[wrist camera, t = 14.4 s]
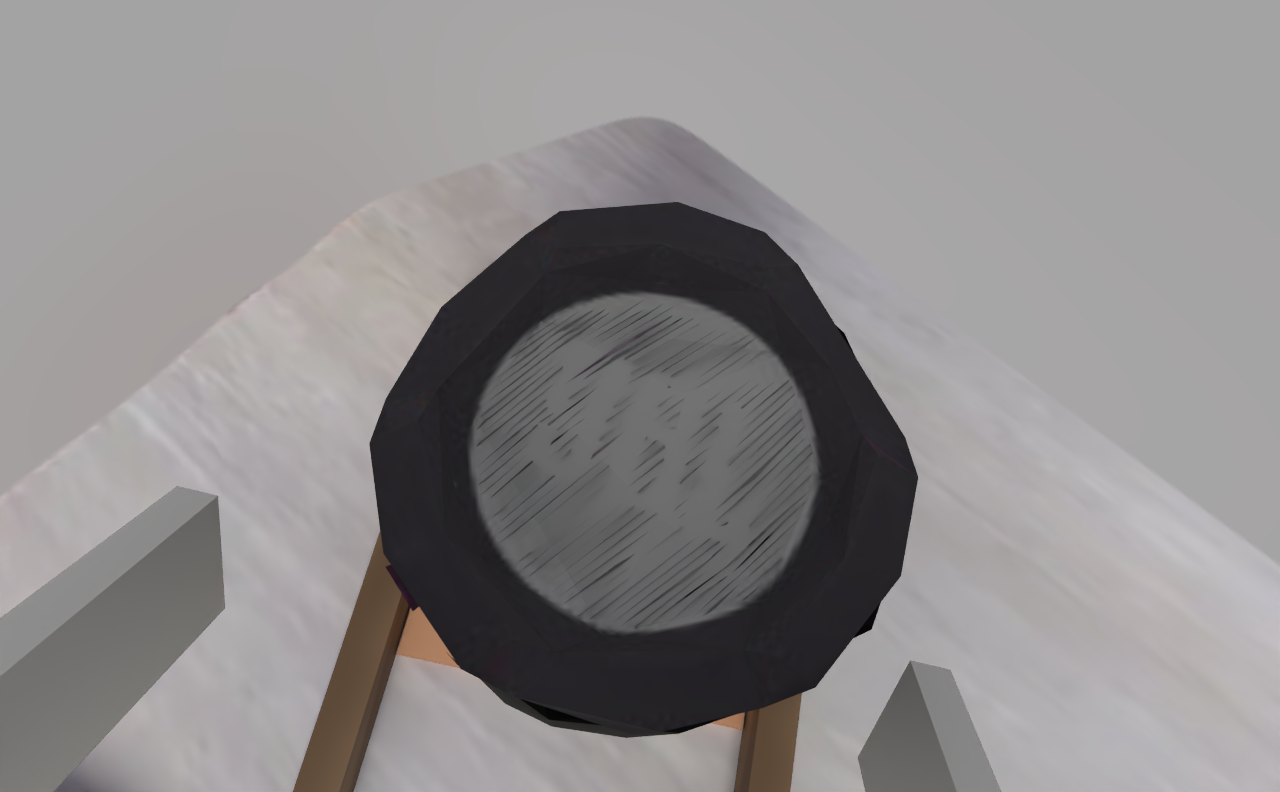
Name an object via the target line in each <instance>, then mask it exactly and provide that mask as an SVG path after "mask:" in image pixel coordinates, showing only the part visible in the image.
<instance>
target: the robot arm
mask: <svg viewBox="0 0 1280 792" xmlns="http://www.w3.org/2000/svg"><path fill="white" fill-rule="evenodd" d="M224 609H225V599H224V583H223V568H222V552H221V537H220V521H219V506H218V496H216V495H212V494H208V493H203V492H199V491H195V490H191V489H187V488H182V487H178V486H177V487H175V488H174V489H173V490H171V491H170V492H169V493H167V494H166V495H165V496H163V497H162V498H161V499H159V500H158V501H157V502H155V503H154V504H153V505H151V506H150V507H149V508H147V509H146V510H145V511H143V512H142V513H141V514H139V515H138V516H137V517H135V518H134V519H133V520H131V521H130V522H129V523H127V524H126V525H125V526H123V527H122V528H121V529H119V530H118V531H116V532H115V533H114V534H112V535H111V536H110V537H108V538H107V539H106V540H104V541H103V542H102V543H100V544H99V545H98V546H96V547H95V548H94V549H92V550H91V551H90V552H88V553H87V554H86V555H84V556H83V557H82V558H80V559H79V560H78V561H76V562H75V563H74V564H72V565H71V566H70V567H68V568H67V569H66V570H64V571H63V572H62V573H60V574H59V575H58V576H56V577H55V578H53V579H52V580H51V581H49V582H48V583H47V584H45V585H44V586H43V587H41V588H40V589H39V590H37V591H36V592H35V593H33V594H32V595H31V596H29V597H28V598H27V599H25V600H24V601H23V602H21V603H20V604H19V605H17V606H16V607H15V608H13V609H12V610H11V611H9V612H8V613H7V614H5V615H4V616H3V617H1V618H0V792H54V791H55V790H56V789H57V787H58V786H59V785H60V784H61V783H62V782H63V781H64V780H65V779H66V778H67V777H68V776H69V775H70V774H71V772H72V771H73V770H74V769H75V768H76V767H77V766H78V765H79V764H80V763H81V762H82V761H83V760H84V759H85V757H86V756H87V755H88V754H89V753H90V752H91V751H92V750H93V749H94V748H95V747H96V746H97V745H98V744H99V742H100V741H101V740H102V739H103V738H104V737H105V736H106V735H107V734H108V733H109V732H110V731H111V730H112V729H113V727H114V726H115V725H116V724H117V723H118V722H119V721H120V720H121V719H122V718H123V717H124V716H125V715H126V714H127V712H128V711H129V710H130V709H131V708H132V707H133V706H134V705H135V704H136V703H137V702H138V701H139V700H140V699H141V697H142V696H143V695H144V694H145V693H146V692H147V691H148V690H149V689H150V688H151V687H152V686H153V685H154V684H155V682H156V681H157V680H158V679H159V678H160V677H161V676H162V675H163V674H164V673H165V672H166V671H167V670H168V669H169V667H170V666H171V665H172V664H173V663H174V662H175V661H176V660H177V659H178V658H179V657H180V656H181V655H182V654H183V652H184V651H185V650H186V649H187V648H188V647H189V646H190V645H191V644H192V643H193V642H194V641H195V640H196V639H197V637H198V636H199V635H200V634H201V633H202V632H203V631H204V630H205V629H206V628H207V627H208V626H209V625H210V624H211V622H212V621H213V620H214V619H215V618H216V617H217V616H218V615H219V614H220V613H221V612H222V611H223V610H224ZM858 760H859V765H860V769H861V774H862V778H863V782H864V787H865V791H866V792H1001V790H1000V788H999V785H998V783H997V780H996V778H995V776H994V773H993V771H992V768H991V766H990V764H989V761H988V759H987V757H986V754H985V752H984V749H983V747H982V745H981V742H980V740H979V737H978V735H977V733H976V730H975V728H974V725H973V723H972V721H971V718H970V716H969V713H968V711H967V709H966V706H965V704H964V701H963V699H962V697H961V694H960V692H959V689H958V687H957V685H956V682H955V680H954V677H953V675H952V673H951V670H948V669H944V668H940V667H936V666H932V665H927V664H923V663H919V662H915V661H910V662H909V664H908V666H907V668H906V669H905V671H904V673H903V675H902V677H901V679H900V680H899V682H898V684H897V686H896V688H895V690H894V692H893V693H892V695H891V697H890V699H889V701H888V703H887V705H886V706H885V708H884V710H883V712H882V714H881V716H880V717H879V719H878V721H877V723H876V725H875V727H874V729H873V730H872V732H871V734H870V736H869V738H868V740H867V742H866V743H865V745H864V747H863V749H862V751H861V753H860V754H859V756H858Z"/></svg>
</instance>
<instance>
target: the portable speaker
mask: <svg viewBox="0 0 1280 792" xmlns="http://www.w3.org/2000/svg"><path fill="white" fill-rule="evenodd" d="M370 451H371V459H372V467H373V475H374V483H375V491H376V499H377V507H378V515H379V523H380V531H381V539H382V547H383V554H384V555H385V557H386V558H387V560H388V561H389V563H390V564H391V565H388V566H385V567H386V569H387V570H388V572H389V574H390V575H391V577H392V579H393V580H394V582H395V583H396V585H397V587H398V588H399V590H400V592H401V593H402V595H403V596H404V598H405V600H406V601H407V603H408V605H409V606H410V608H411V609H412V611H414V610H415V609H417V608H418V607H420V609H421V610H422V612H423V613H424V615H425V616H426V618H427V619H428V621H429V622H430V624H431V625H432V627H433V628H434V630H435V631H436V633H437V634H438V636H439V637H440V639H441V640H442V642H443V643H444V644H445V646H446V647H447V649H448V650H449V652H450V653H451V655H452V656H453V658H454V659H455V660H454V659H453V658H452V657H451V656H450V655H449V654H448V653H447V652H446V653H447V654H448V655H449V656H450V657H451V658H452V659H453V661H454V662H455V663H456V664H457V665H458V666H459V667H460V668H461V669H462V670H464V671H466V672H468V673H470V674H472V675H474V676H476V677H478V678H480V679H481V680H482V681H483V682H484V683H485V684H486V685H487V686H488V687H489V688H490V689H491V690H492V691H493V692H494V693H495V694H496V695H497V696H498V697H499V698H500V699H501V700H502V701H503V702H504V703H505V704H507V705H509V706H511V707H513V708H515V709H517V710H520V711H522V712H524V713H526V714H528V715H530V716H532V717H534V718H536V719H538V720H540V721H542V722H544V723H546V724H548V725H550V726H553V727H559V728H566V729H573V730H579V731H586V732H592V733H599V734H605V735H612V736H619V737H625V738H628V737H641V736H653V735H666V734H678V733H682V732H685V731H688V730H691V729H694V728H697V727H700V726H703V725H706V724H709V723H712V722H715V721H718V720H721V719H724V718H727V717H730V716H733V715H736V714H740V713H744V712H748V711H753V710H757V709H761V708H764V707H767V706H770V705H772V704H775V703H777V702H780V701H782V700H785V699H787V698H790V697H792V696H795V695H797V694H800V693H802V692H805V691H807V690H810V689H812V688H815V687H816V686H817V684H818V683H819V682H820V681H821V679H822V678H823V677H824V675H825V674H826V673H827V671H828V670H829V669H830V668H831V666H832V665H833V664H834V662H835V661H836V660H837V658H838V657H839V656H840V654H841V653H842V652H843V651H844V649H845V648H846V647H847V645H848V644H849V643H850V641H851V640H852V639H853V638H855V637H857V636H859V635H861V634H863V633H865V632H867V631H869V630H871V629H872V626H873V623H874V620H875V618H876V615H877V612H878V609H879V606H880V603H881V601H882V600H883V598H884V597H885V596H886V594H887V593H888V592H889V591H890V589H891V588H892V587H893V585H894V584H895V583H896V581H897V580H898V579H899V577H900V576H901V572H902V566H903V560H904V555H905V549H906V543H907V538H908V532H909V526H910V520H911V515H912V509H913V503H914V498H915V492H916V486H917V480H918V476H917V472H916V469H915V466H914V463H913V460H912V457H911V454H910V451H909V448H908V445H907V442H906V439H905V437H904V435H903V433H902V432H901V430H900V429H899V427H898V425H897V424H896V422H895V420H894V419H893V417H892V416H891V414H890V412H889V411H888V409H887V408H886V406H885V404H884V403H883V401H882V399H881V398H880V396H879V395H878V393H877V391H876V390H875V388H874V387H873V385H872V383H871V382H870V380H869V379H868V377H867V375H866V374H865V372H864V370H863V369H862V367H861V366H860V364H859V362H858V361H857V359H856V357H855V355H854V353H853V351H852V349H851V347H850V344H849V342H848V340H847V338H846V336H845V334H844V332H843V331H841V330H840V329H839V328H838V327H837V326H836V325H835V324H834V322H833V320H832V319H831V317H830V316H829V314H828V312H827V311H826V309H825V308H824V306H823V304H822V303H821V301H820V299H819V298H818V296H817V295H816V293H815V291H814V290H813V288H812V287H811V285H810V283H809V282H808V280H807V279H806V277H805V275H804V274H803V272H802V270H801V269H800V267H799V266H798V264H797V263H796V262H794V261H793V260H792V259H791V258H790V257H789V256H788V255H787V254H786V253H785V252H784V251H783V250H782V249H781V248H780V247H779V246H778V245H777V244H776V243H775V242H774V241H773V240H772V239H771V238H770V237H769V236H768V235H767V234H766V233H765V232H762V231H760V230H757V229H754V228H751V227H748V226H745V225H742V224H739V223H737V222H734V221H731V220H728V219H725V218H722V217H719V216H716V215H714V214H711V213H708V212H705V211H702V210H699V209H696V208H693V207H691V206H688V205H685V204H682V203H679V202H673V203H660V204H648V205H635V206H622V207H609V208H596V209H584V210H571V211H560V212H558V213H557V214H555V215H554V216H552V217H551V218H549V219H548V220H547V221H545V222H544V223H542V224H541V225H539V226H538V227H536V228H535V229H534V230H532V231H531V232H529V233H528V234H526V235H525V236H524V237H523V238H521V239H520V240H519V241H518V242H517V243H516V244H514V245H513V246H512V247H511V248H510V249H509V250H507V251H506V252H505V253H504V254H503V255H502V256H500V257H499V258H498V259H497V260H496V261H495V262H493V263H492V264H491V265H490V266H489V267H488V268H486V269H485V270H484V271H483V272H482V273H481V274H479V275H478V276H477V277H476V278H475V279H474V280H472V281H471V282H470V283H469V284H468V285H467V286H465V287H464V288H463V289H462V290H461V291H460V292H458V293H457V294H456V295H455V296H454V297H453V298H451V299H450V300H449V301H448V302H447V303H446V304H444V305H443V306H442V307H441V309H440V310H439V312H438V314H437V315H436V317H435V318H434V320H433V322H432V323H431V325H430V327H429V328H428V330H427V332H426V333H425V335H424V337H423V338H422V340H421V342H420V343H419V345H418V347H417V348H416V350H415V352H414V353H413V355H412V357H411V358H410V360H409V361H408V363H407V365H406V366H405V368H404V370H403V371H402V373H401V375H400V376H399V378H398V380H397V381H396V383H395V385H394V386H393V388H392V390H391V391H390V393H389V395H388V396H387V398H386V400H385V403H384V406H383V408H382V411H381V414H380V417H379V419H378V422H377V425H376V427H375V430H374V433H373V436H372V438H371V441H370Z"/></svg>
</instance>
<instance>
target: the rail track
mask: <svg viewBox="0 0 1280 792" xmlns="http://www.w3.org/2000/svg"><path fill="white" fill-rule="evenodd" d="M388 565H391V564H390V563H389V561H388V560H387V558H386V557H385V555H384V554H383V547H382V539H381V531H380V533H379V536H378V539H377V542H376V545H375V548H374V551H373V554H372V557H371V560H370V563H369V566H368V569H367V572H366V575H365V578H364V581H363V584H362V587H361V590H360V593H359V596H358V599H357V602H356V605H355V608H354V611H353V614H352V617H351V620H350V623H349V626H348V629H347V632H346V635H345V638H344V641H343V644H342V647H341V650H340V653H339V656H338V659H337V662H336V665H335V668H334V671H333V674H332V677H331V680H330V683H329V686H328V689H327V692H326V695H325V698H324V701H323V704H322V707H321V710H320V712H319V715H318V718H317V721H316V724H315V727H314V730H313V733H312V736H311V739H310V742H309V745H308V748H307V751H306V754H305V757H304V760H303V763H302V766H301V769H300V772H299V775H298V778H297V781H296V784H295V787H294V790H293V792H353V791H354V787H355V784H356V781H357V778H358V774H359V771H360V768H361V765H362V761H363V758H364V755H365V752H366V748H367V745H368V742H369V739H370V736H371V732H372V729H373V726H374V723H375V719H376V716H377V713H378V710H379V706H380V703H381V700H382V697H383V693H384V690H385V687H386V684H387V680H388V677H389V674H390V671H391V667H392V664H393V661H394V658H395V655H396V651H397V648H398V645H399V642H400V638H401V635H402V632H403V629H404V625H405V622H406V619H407V616H408V612H409V609H410V606H409V605H408V603H407V601H406V600H405V598H404V596H403V595H402V593H401V592H400V590H399V588H398V587H397V585H396V583H395V582H394V580H393V579H392V577H391V575H390V574H389V572H388V570H387V569H386V567H385V566H388ZM801 694H802V693H800V694H797V695H795V696H792V697H790V698H787V699H785V700H782V701H780V702H777V703H775V704H772V705H770V706H767V707H764V708H761V709H757V710H753V711H748V712H745V719H744V726H743V733H742V740H741V747H740V754H739V761H738V768H737V775H736V782H735V789H734V792H790V788H791V779H792V771H793V762H794V754H795V745H796V737H797V728H798V720H799V711H800V703H801Z"/></svg>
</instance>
